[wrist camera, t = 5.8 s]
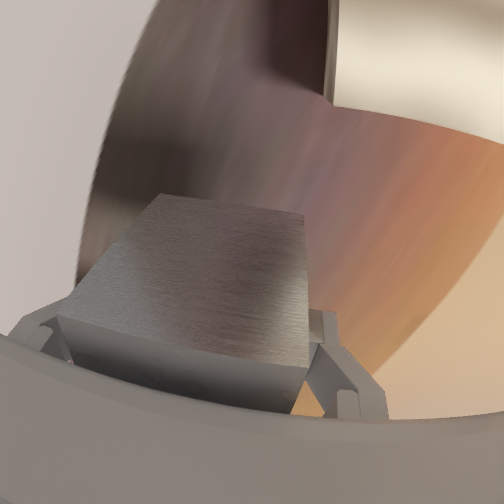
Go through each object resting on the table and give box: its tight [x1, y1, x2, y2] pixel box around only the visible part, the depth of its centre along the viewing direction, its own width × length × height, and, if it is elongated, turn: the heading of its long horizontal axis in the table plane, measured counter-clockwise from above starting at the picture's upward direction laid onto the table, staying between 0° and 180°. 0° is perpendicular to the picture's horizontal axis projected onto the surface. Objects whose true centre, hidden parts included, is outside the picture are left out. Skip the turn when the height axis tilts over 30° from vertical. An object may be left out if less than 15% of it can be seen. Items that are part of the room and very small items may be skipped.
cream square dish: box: [323, 0, 504, 144], centre depth 10 cm, size 11×11×5 cm
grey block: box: [55, 194, 309, 414], centre depth 10 cm, size 6×6×7 cm
